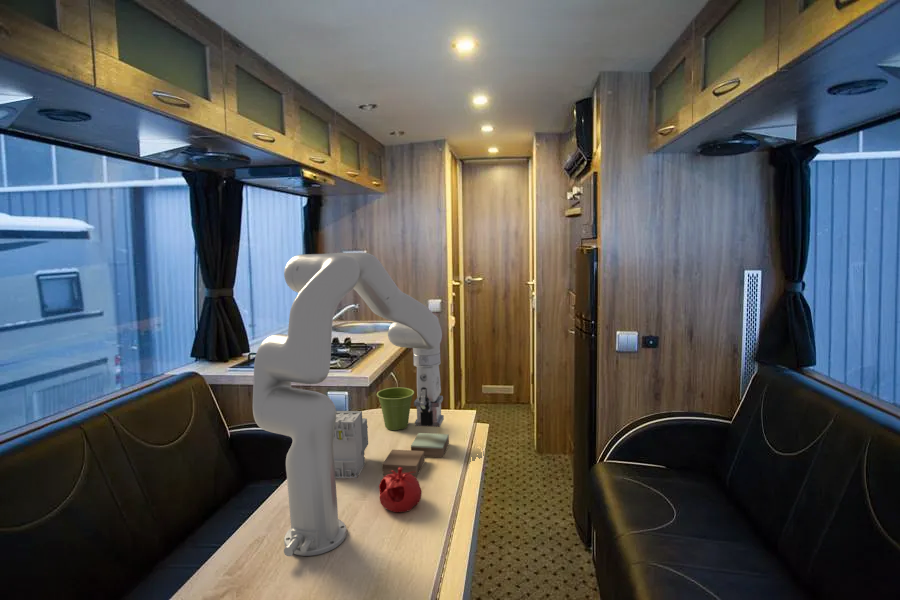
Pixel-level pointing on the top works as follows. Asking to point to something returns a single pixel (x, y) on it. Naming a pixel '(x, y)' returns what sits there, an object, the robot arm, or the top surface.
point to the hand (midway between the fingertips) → (429, 420)
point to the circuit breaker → (349, 443)
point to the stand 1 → (404, 462)
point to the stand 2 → (431, 444)
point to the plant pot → (395, 406)
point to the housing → (435, 410)
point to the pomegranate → (399, 491)
